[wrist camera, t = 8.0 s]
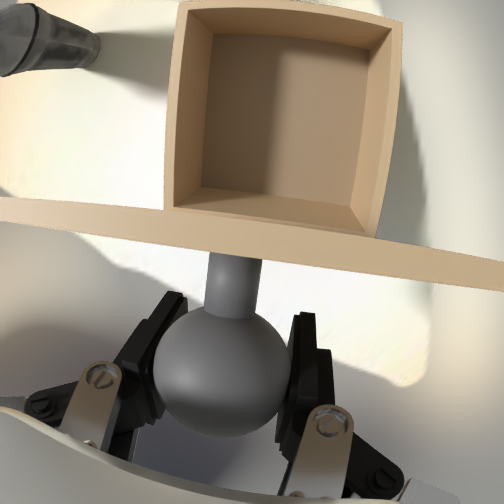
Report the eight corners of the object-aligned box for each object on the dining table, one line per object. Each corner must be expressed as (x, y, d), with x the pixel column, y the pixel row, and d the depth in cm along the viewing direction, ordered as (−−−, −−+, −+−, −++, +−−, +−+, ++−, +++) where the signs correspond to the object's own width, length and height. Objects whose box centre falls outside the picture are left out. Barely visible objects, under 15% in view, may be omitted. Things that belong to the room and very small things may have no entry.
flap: (-32, 195, 6) (-20, 384, 6) (554, 272, 4) (473, 482, 5) (163, 216, 23) (155, 296, 23) (373, 244, 21) (358, 326, 22)
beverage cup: (77, 91, 27) (-72, 104, 9) (56, 54, 25) (-78, 52, 7) (120, 47, 24) (-34, 18, 6) (95, 12, 22) (-40, -23, 4)
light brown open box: (208, 29, 23) (179, 2, 16) (376, 46, 21) (402, 22, 14) (195, 192, 30) (163, 215, 23) (354, 213, 29) (373, 244, 21)
